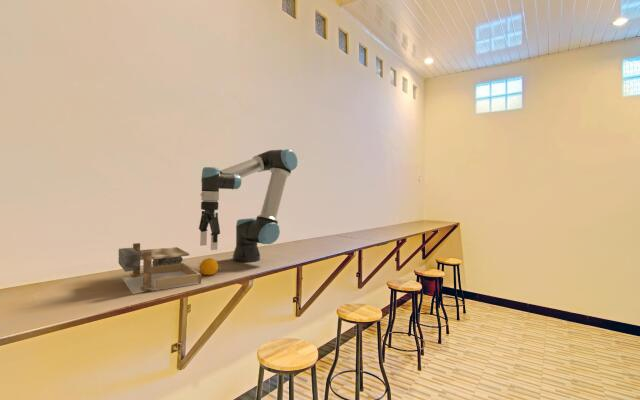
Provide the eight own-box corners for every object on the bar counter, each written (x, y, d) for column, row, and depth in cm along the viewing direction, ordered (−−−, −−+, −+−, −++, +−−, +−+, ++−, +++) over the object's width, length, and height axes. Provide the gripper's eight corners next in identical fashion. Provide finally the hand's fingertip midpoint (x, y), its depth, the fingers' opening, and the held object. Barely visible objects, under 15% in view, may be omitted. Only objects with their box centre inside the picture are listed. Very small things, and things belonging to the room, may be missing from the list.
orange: (203, 277, 149) (203, 260, 148) (197, 273, 155) (197, 257, 154) (220, 275, 154) (220, 258, 153) (213, 271, 160) (214, 255, 159)
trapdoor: (176, 257, 153) (176, 243, 153) (189, 264, 138) (189, 250, 138) (118, 262, 139) (118, 248, 139) (125, 272, 124) (125, 256, 124)
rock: (152, 273, 152) (157, 251, 153) (144, 269, 157) (148, 248, 158) (184, 273, 164) (188, 252, 165) (175, 269, 170) (179, 250, 171)
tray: (183, 271, 158) (183, 263, 158) (200, 283, 139) (201, 274, 139) (122, 279, 142) (122, 270, 142) (132, 293, 123) (132, 283, 123)
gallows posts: (140, 276, 147) (140, 242, 147) (154, 291, 127) (154, 252, 127) (130, 277, 145) (130, 243, 144) (142, 293, 125) (142, 253, 124)
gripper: (192, 200, 161) (191, 244, 161) (211, 202, 141) (210, 252, 141) (208, 200, 165) (207, 243, 166) (228, 202, 146) (227, 251, 146)
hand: (208, 247), depth 153 cm, fingers open, 13 cm apart
